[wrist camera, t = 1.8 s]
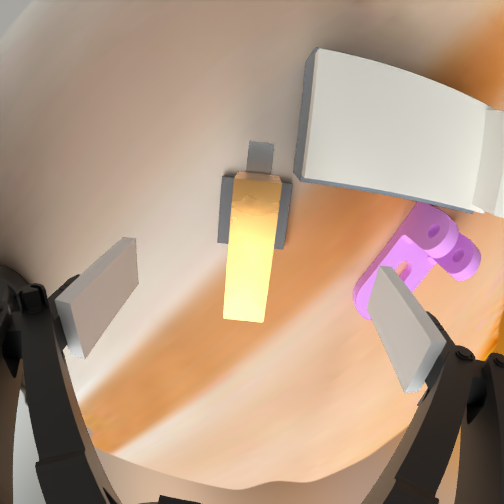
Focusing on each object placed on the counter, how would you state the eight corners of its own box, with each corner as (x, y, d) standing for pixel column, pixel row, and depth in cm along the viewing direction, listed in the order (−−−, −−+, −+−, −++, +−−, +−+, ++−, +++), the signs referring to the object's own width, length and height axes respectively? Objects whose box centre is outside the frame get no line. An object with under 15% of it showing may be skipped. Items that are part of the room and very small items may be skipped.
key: (234, 260, 28) (223, 318, 20) (246, 138, 24) (237, 142, 15) (262, 263, 28) (263, 322, 20) (277, 141, 24) (286, 147, 15)
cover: (301, 174, 21) (311, 186, 17) (315, 53, 17) (328, 35, 13) (474, 209, 21) (505, 225, 17) (490, 111, 17) (523, 113, 13)
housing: (218, 240, 28) (209, 262, 24) (235, 54, 22) (229, 37, 17) (428, 263, 28) (451, 285, 24) (459, 105, 22) (489, 105, 17)
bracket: (418, 198, 26) (457, 219, 20) (449, 229, 27) (487, 255, 21) (341, 299, 31) (359, 341, 24) (377, 320, 32) (398, 361, 25)
